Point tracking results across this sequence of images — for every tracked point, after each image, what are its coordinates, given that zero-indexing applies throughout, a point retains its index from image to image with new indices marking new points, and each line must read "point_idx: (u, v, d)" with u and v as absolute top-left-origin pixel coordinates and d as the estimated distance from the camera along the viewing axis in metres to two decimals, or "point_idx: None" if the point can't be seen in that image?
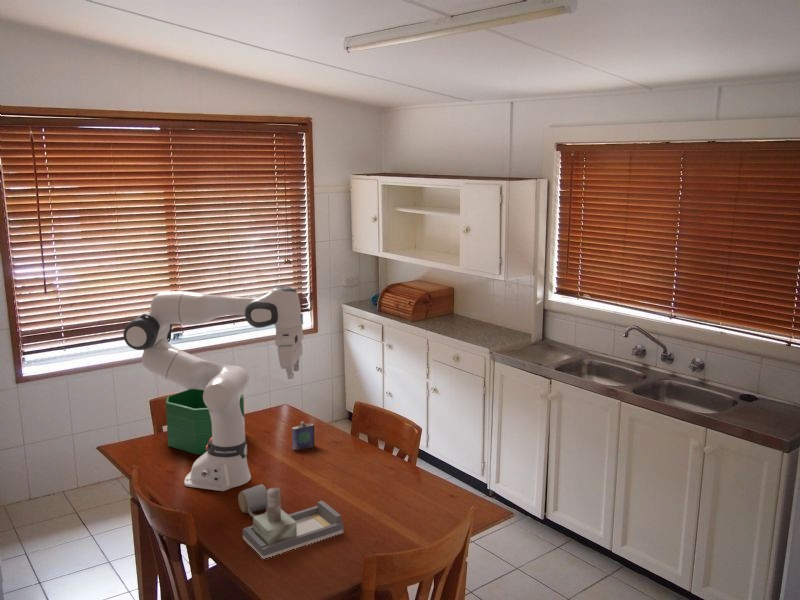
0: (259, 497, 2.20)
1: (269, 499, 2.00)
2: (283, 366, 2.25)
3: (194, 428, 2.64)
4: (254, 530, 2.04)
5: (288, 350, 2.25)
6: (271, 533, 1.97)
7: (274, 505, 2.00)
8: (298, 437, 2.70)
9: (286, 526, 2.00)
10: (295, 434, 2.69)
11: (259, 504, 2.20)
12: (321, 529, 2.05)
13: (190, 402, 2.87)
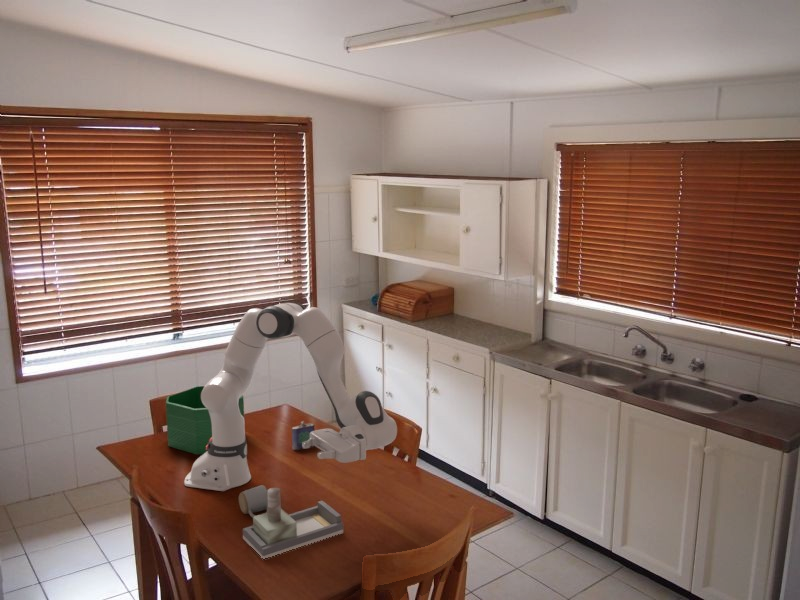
0: (260, 498, 2.19)
1: (269, 499, 2.00)
2: (344, 454, 2.02)
3: (194, 428, 2.64)
4: (254, 530, 2.04)
5: (357, 456, 2.05)
6: (271, 533, 1.97)
7: (274, 505, 2.00)
8: (298, 437, 2.70)
9: (286, 526, 2.00)
10: (295, 434, 2.69)
11: (260, 505, 2.19)
12: (321, 529, 2.05)
13: (190, 402, 2.87)
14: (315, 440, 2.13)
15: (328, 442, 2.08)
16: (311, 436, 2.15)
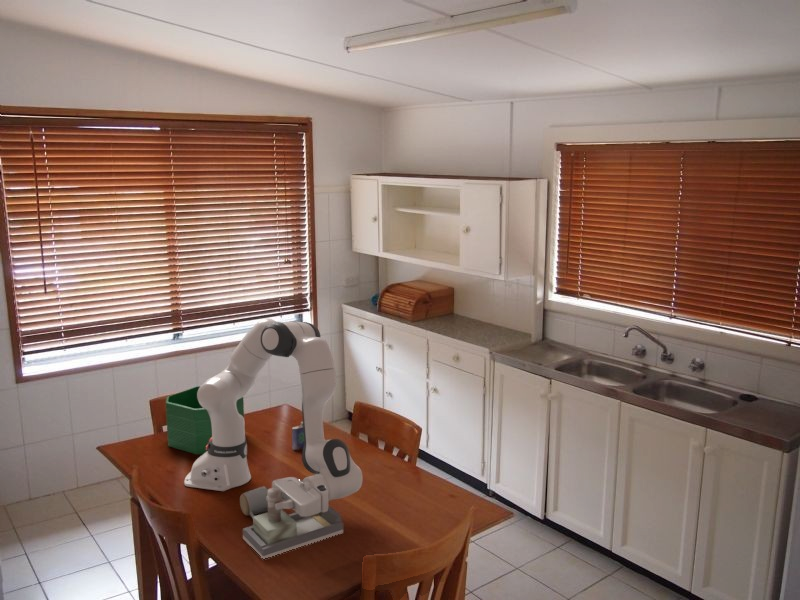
0: (261, 499, 2.18)
1: (269, 499, 2.00)
2: (304, 508, 1.97)
3: (194, 428, 2.64)
4: (254, 530, 2.04)
5: (319, 510, 2.00)
6: (271, 533, 1.97)
7: None
8: (298, 437, 2.70)
9: (286, 526, 2.00)
10: (295, 434, 2.69)
11: (261, 506, 2.18)
12: (321, 529, 2.05)
13: (190, 402, 2.87)
14: (280, 493, 2.06)
15: (289, 494, 2.03)
16: (273, 486, 2.10)
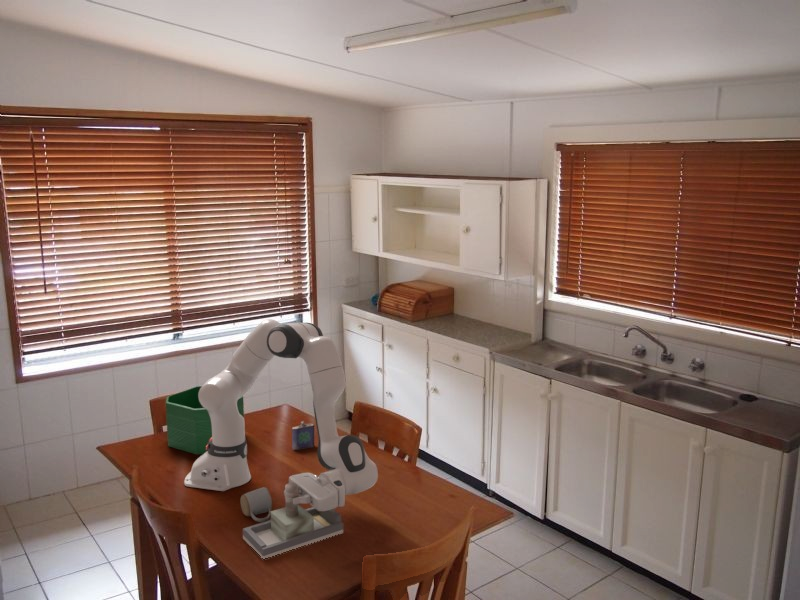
0: (262, 500, 2.18)
1: (287, 494, 2.03)
2: (322, 503, 2.00)
3: (194, 428, 2.64)
4: (271, 525, 2.08)
5: (336, 504, 2.03)
6: (289, 527, 2.00)
7: None
8: (298, 437, 2.70)
9: (303, 521, 2.03)
10: (295, 434, 2.69)
11: (262, 507, 2.18)
12: (321, 529, 2.05)
13: (190, 402, 2.87)
14: None
15: (306, 489, 2.06)
16: (290, 481, 2.14)
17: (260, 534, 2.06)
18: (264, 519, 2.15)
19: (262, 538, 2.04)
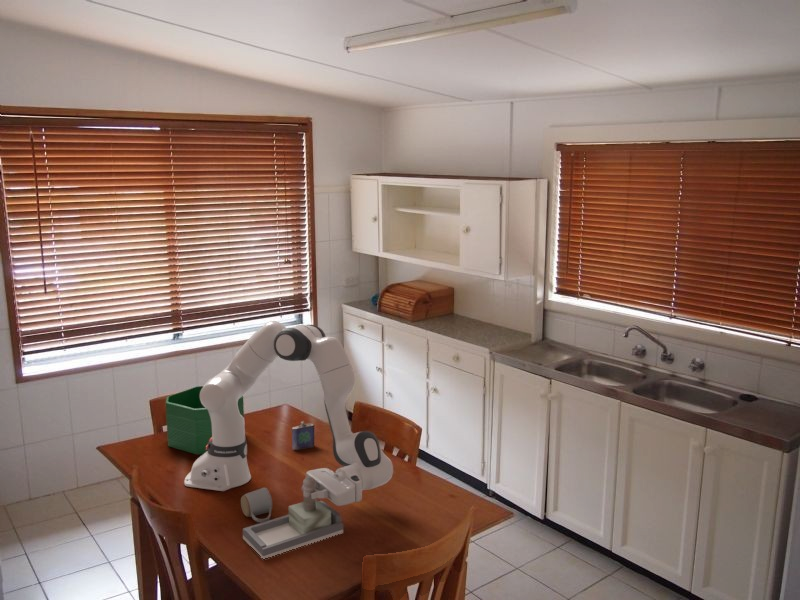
0: (262, 501, 2.18)
1: (305, 489, 2.07)
2: (340, 497, 2.03)
3: (194, 428, 2.64)
4: (290, 519, 2.11)
5: (353, 499, 2.07)
6: (307, 522, 2.04)
7: None
8: (298, 437, 2.70)
9: (321, 515, 2.06)
10: (295, 434, 2.69)
11: (262, 508, 2.17)
12: (321, 529, 2.05)
13: (190, 402, 2.87)
14: (315, 483, 2.13)
15: (324, 484, 2.10)
16: (307, 476, 2.17)
17: (260, 534, 2.06)
18: (264, 519, 2.15)
19: (262, 538, 2.04)
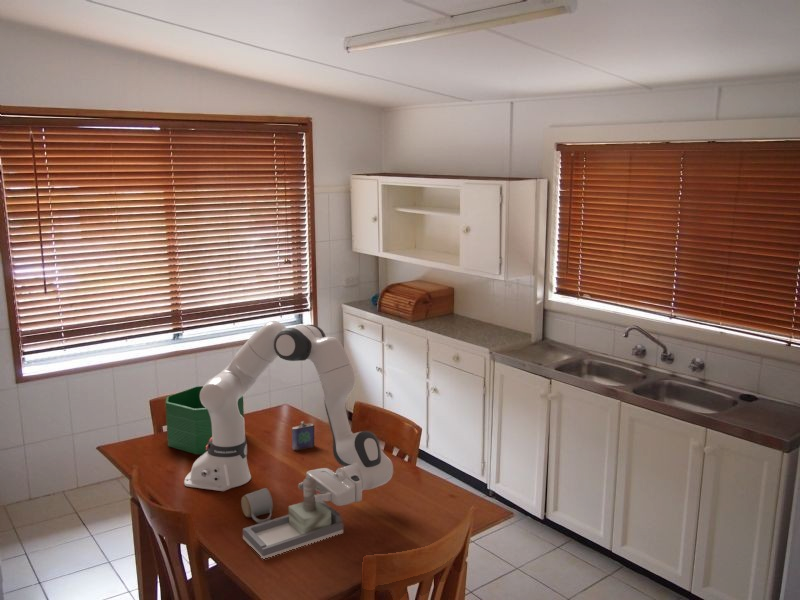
0: (262, 501, 2.17)
1: (305, 489, 2.07)
2: (340, 497, 2.03)
3: (194, 428, 2.64)
4: (290, 519, 2.11)
5: (353, 499, 2.07)
6: (307, 522, 2.04)
7: (310, 494, 2.07)
8: (298, 437, 2.70)
9: (321, 515, 2.06)
10: (295, 434, 2.69)
11: (263, 508, 2.17)
12: (321, 529, 2.05)
13: (190, 402, 2.87)
14: None
15: (324, 484, 2.10)
16: (307, 476, 2.17)
17: (260, 534, 2.06)
18: (265, 520, 2.15)
19: (262, 538, 2.04)
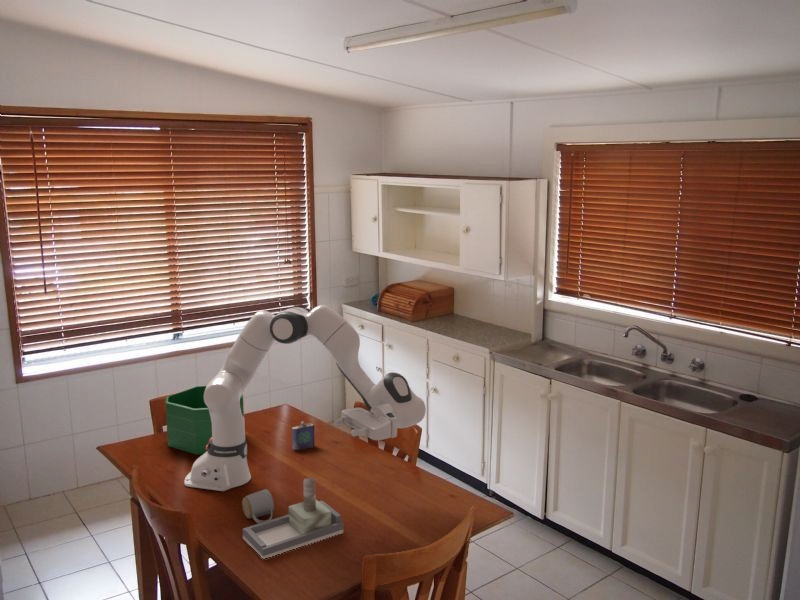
0: (264, 502, 2.17)
1: (305, 489, 2.07)
2: (377, 432, 2.07)
3: (194, 428, 2.64)
4: (290, 519, 2.11)
5: (389, 434, 2.11)
6: (307, 522, 2.04)
7: (310, 494, 2.07)
8: (298, 437, 2.70)
9: (321, 515, 2.06)
10: (295, 434, 2.69)
11: (264, 509, 2.16)
12: (321, 529, 2.05)
13: (190, 402, 2.87)
14: (347, 418, 2.19)
15: (360, 420, 2.14)
16: (342, 415, 2.21)
17: (260, 534, 2.06)
18: None
19: (262, 538, 2.04)
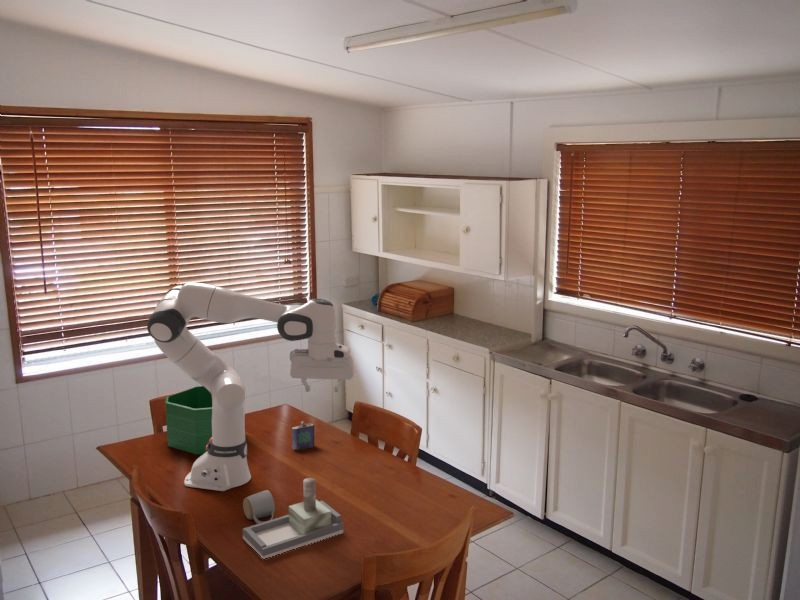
0: (264, 503, 2.16)
1: (305, 489, 2.07)
2: (352, 376, 2.22)
3: (194, 428, 2.64)
4: (290, 519, 2.11)
5: None
6: (307, 522, 2.04)
7: (310, 494, 2.07)
8: (298, 437, 2.70)
9: (321, 515, 2.06)
10: (295, 434, 2.69)
11: (264, 510, 2.16)
12: (321, 529, 2.05)
13: (190, 402, 2.87)
14: (306, 378, 2.23)
15: (325, 377, 2.21)
16: None
17: (260, 534, 2.06)
18: None
19: (262, 538, 2.04)
